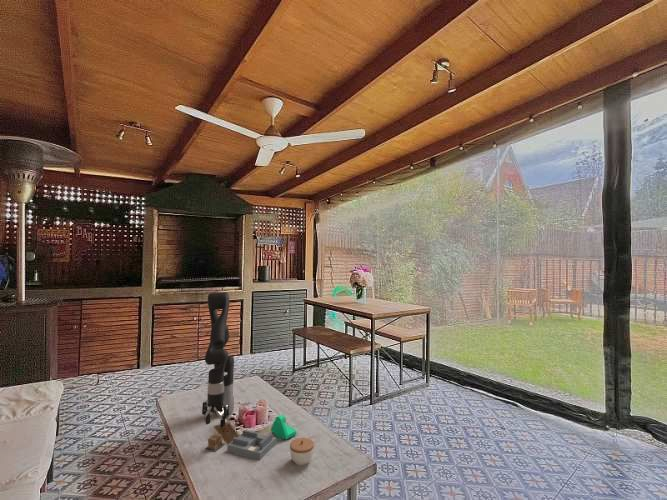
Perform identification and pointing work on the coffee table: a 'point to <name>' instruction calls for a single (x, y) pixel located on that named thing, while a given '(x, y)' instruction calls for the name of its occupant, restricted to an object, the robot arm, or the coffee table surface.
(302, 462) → the lidded jar
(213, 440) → the block
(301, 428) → the coffee table surface
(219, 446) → the mat
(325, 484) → the coffee table surface
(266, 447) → the rail board
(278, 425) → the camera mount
